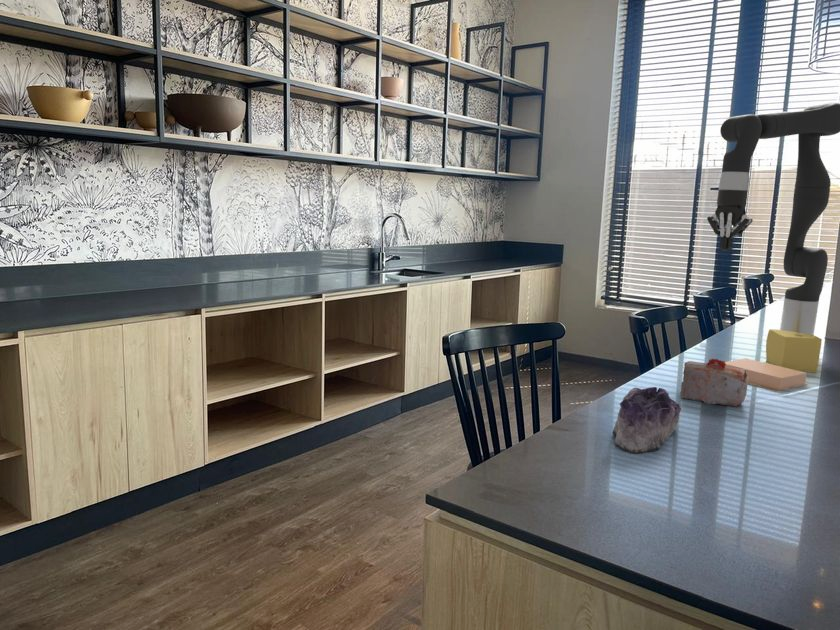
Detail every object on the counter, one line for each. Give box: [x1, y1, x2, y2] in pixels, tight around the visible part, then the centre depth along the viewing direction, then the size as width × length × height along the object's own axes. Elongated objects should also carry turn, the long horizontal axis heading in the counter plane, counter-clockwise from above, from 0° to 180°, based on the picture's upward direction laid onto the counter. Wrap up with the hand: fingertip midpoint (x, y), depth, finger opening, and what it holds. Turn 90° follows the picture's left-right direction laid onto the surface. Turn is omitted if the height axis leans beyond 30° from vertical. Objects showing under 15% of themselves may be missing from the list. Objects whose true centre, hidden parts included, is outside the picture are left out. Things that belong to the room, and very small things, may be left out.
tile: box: [724, 358, 808, 391], centre depth 166 cm, size 12×3×16 cm
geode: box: [612, 386, 682, 455], centre depth 120 cm, size 20×12×10 cm, turn 151°
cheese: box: [765, 329, 822, 373], centre depth 181 cm, size 10×11×10 cm
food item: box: [679, 358, 749, 407], centre depth 146 cm, size 14×8×10 cm, turn 64°
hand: (725, 250), depth 183 cm, fingers closed
